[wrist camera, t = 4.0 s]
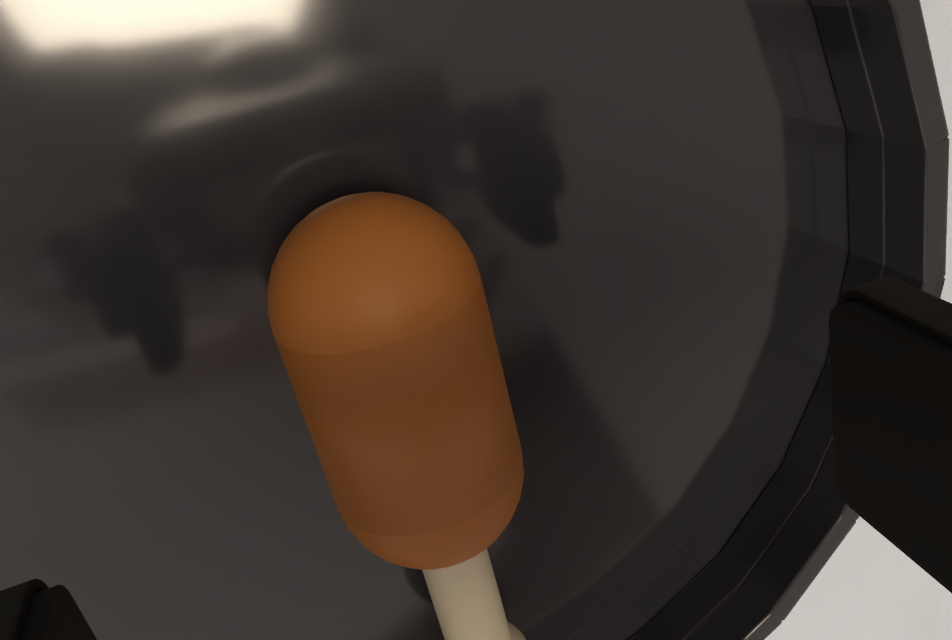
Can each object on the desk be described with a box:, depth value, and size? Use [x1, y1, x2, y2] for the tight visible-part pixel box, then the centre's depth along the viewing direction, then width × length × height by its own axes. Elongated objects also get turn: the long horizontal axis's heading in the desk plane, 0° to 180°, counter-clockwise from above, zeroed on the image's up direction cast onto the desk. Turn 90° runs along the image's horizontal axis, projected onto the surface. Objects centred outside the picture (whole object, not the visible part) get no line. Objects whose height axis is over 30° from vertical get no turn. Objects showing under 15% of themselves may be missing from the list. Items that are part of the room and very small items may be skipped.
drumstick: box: [267, 192, 526, 640], centre depth 14 cm, size 10×3×3 cm, turn 13°
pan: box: [0, 0, 949, 640], centre depth 14 cm, size 20×20×2 cm
